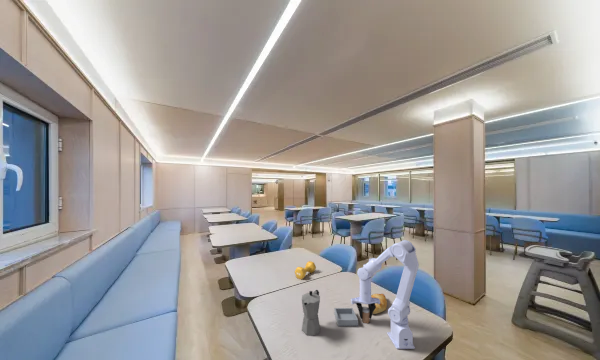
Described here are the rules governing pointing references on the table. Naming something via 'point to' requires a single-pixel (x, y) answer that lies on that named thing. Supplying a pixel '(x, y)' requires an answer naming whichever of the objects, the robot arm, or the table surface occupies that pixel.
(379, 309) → the croissant
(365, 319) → the shaker
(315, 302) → the coffeepot
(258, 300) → the table surface
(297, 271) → the dumbbell
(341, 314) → the bin
